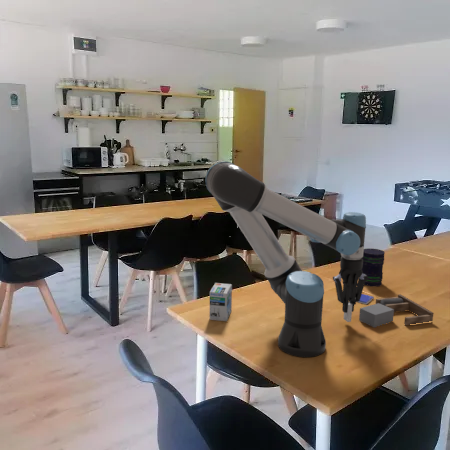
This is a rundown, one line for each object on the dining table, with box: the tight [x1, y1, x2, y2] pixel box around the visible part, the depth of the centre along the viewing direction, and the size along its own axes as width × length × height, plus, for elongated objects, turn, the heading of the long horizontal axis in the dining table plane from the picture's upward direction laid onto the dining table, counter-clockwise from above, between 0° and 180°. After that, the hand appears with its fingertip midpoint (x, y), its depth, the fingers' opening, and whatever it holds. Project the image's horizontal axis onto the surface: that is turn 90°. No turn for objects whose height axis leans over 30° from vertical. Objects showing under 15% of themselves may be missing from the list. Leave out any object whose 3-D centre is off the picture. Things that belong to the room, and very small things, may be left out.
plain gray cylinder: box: [380, 298, 404, 306], centre depth 179 cm, size 8×4×4 cm, turn 106°
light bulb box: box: [209, 282, 233, 322], centre depth 169 cm, size 11×7×11 cm, turn 170°
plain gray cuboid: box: [358, 303, 395, 328], centre depth 167 cm, size 10×7×5 cm
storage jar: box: [362, 248, 385, 287], centre depth 207 cm, size 10×10×15 cm
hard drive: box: [357, 293, 374, 305], centre depth 190 cm, size 2×8×12 cm
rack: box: [375, 293, 434, 326], centre depth 173 cm, size 11×19×4 cm, turn 15°
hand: (347, 320), depth 164 cm, fingers closed
